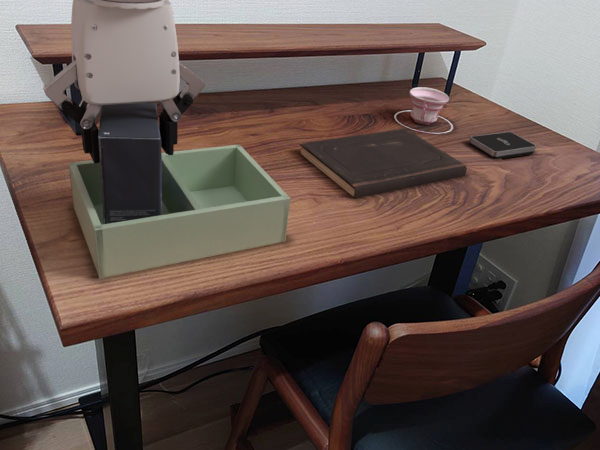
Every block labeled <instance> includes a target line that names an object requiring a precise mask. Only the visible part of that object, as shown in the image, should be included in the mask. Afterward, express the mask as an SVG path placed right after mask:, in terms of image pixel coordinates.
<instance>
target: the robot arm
mask: <svg viewBox="0 0 600 450" xmlns="http://www.w3.org/2000/svg"><path fill="white" fill-rule="evenodd" d="M70 21H71V24H70V25H71V27H70V34H71V35H70V38H71V43H70V44H71V62H70V63H69V64H68V65H66V66H65V68H63V69H62V70H61V71H60V72H58V73H57V74H56V75H54V76H53V77H52V78H51V79H50V80H49V81H47V82H46V83H45V84H44V85H43V87H42V90H43V93H44V94H45V96H46V97H47V98H48V99H49V100H50V101H51V102H52V103H53V104H55V105H56V106H57V108H59V109H60V110H61V111H62V112H63V113H64V114H65V115H66V116H68V117H69V118H71V119H72V120H73V121H74V122H76V123H77V124H78V125H80V132H81V133H80V134H81V142H82V143H81V144H82V149H83V152H84V154H89V155H90V157H91V160H93V162H94V164H95V163H99V162H100V159H99V145H98V134H99V127H98V126H97V124H96V120H97V118H98V116H99V115H100V113H101V108H102V106H103V105H115V104H132V103H159V104H160V106H161V107H162V111H161V112H160V114H159V115H158V122H159V129H160V137H161V150H163V152H165V153H166V154H168V155H173V154H174V151H175V148H174V145H178V122H180V121H181V120H182V118H183V117H182V116H183V115H184V113H185V112H186V111H187V110H188V109H189V108H190V107H191V106H192V105H193V103H194V99H196V98H197V97H198V95H200V93H201V92H202V90H203V89H204V88H205V86H206V85H205V82H204V80H202V79H201V78H200V76H198V75H197V74H195V73H194V72H193V71H192V70H190V69H189V68H188V67H187V66H185V65H184V64H183V63H182V62H180V57H179V55H180V54H179V46H178V45H179V44H178V37H177V31H176V23H175V22H176V21H175V17H174V12H173V7H172V3H171V1H170V0H72V5H71V20H70ZM181 80H182V81H184V82H185V86H184V87H183V90H180V86H181ZM73 84H74V87H75V89H76V90H79V91H80V96H81V101H80V102H79V104H77V103H76V102H75V101H74V100H73V99H71V98H69V97H68V96H67V95H66V94H65V91H66V90H67V89H69V88H70V87H71V86H72V85H73Z"/></svg>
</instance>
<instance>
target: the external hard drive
mask: <svg viewBox="0 0 600 450" xmlns="http://www.w3.org/2000/svg"><path fill="white" fill-rule="evenodd" d="M468 146H470V147H472V148H474V149H475V150H477V151H478V152H479V153H481V154H484V155H485V156H487V157H488V158H490V159H492V160H498V159H499V160H500V159H501V160H503V159H509V158H510V159H511V158H516V157H525V156H530V155H534V153H535V150H536V148H537V145H536V144H535V143H533V142H531V141H529V140H527V139H525V138H524V137H521V136H519V135H518V134H516V133H514V132H512V131H503V132H502V131H501V132H495V133H487V134H479V135H471V136H470V138H469V141H468Z"/></svg>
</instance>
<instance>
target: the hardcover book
mask: <svg viewBox="0 0 600 450" xmlns="http://www.w3.org/2000/svg"><path fill="white" fill-rule="evenodd" d="M299 146H300V147H301V149H300V155H302V156H303V157H304V158H305V159H307V160H308V161H309V162H310V163H311V164H312V165H314V166H315V167H316V168H318V169H319V170H320V171H321V172H322V173H323V174H325V176H327V177H328V178H330V179H331V180H332V181H333V182H334V183H336V184H337V185H338V186H339V187H341V188H342V189H343V190H344V191H346V193H348V194H349V195H350V196H352V197H353V199H354V200H355V199H359V198H364V197H368V196H374V195H378V194H383V193H387V192H388V193H389V192H393V191H398V190H403V189H407V188H412V187H418V186H422V185H428V184H432V183H437V182H441V181H446V180H451V179H456V178H461V177H465V176H466V173H467V169H468V168H467V165H466V164H465V163H463V162H461V161H460V160H458V159H456V158H455V157H454V156H451V155H450V154H448V153H446V152H445V151H443V150H441V149H440V148H438V147H436V146H435V145H433V144H432V143H430V142H429V141H427V140H425V139H423V137H420V136H418V135H417V134H415V133H414V132H412V131H411V130H410V129H409V130H408V129H407V128H401V129H393V130H387V131H380V132H373V133H366V134H365V133H364V134H358V135H357V134H356V135H350V136H343V137H335V138H328V139H322V140H315V141H305V142H299Z"/></svg>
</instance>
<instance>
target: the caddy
mask: <svg viewBox="0 0 600 450" xmlns="http://www.w3.org/2000/svg"><path fill="white" fill-rule="evenodd" d="M161 153H162V203H161V215H160V216H153V217H147V218H141V219H135V220H128V221H122V222H116V223H109V224H103V202H102V182H101V172H100V162H99V163H95V164H94V162H93V160H92V159H90V160H81V161H71V162H68V170H69V178H70V179H69V180H70V186H71V187H70V188H71V197H72V205H73V209H74V212H75V215H76V217H77V220H78V223H79V226H80V228H81V232H82V234H83V237H84V240H85V242H86V246H87V248H88V251H89V253H90V257H91V260H92V262H93V265H94V268H95V270H96V271H95V272H96V274H97V276H98V279H99V280H102V279H105V278H110V277H115V276H121V275H126V274H131V273H135V272H140V271H145V270H151V269H155V268H161V267H165V266H169V265H170V266H171V265H175V264H180V263H181V264H182V263H185V262H191V261H196V260H200V259H204V258H211V257H215V256H221V255H225V254H230V253H234V252H235V253H236V252H239V251H240V252H241V251H244V250H245V251H246V250H250V249H254V248H259V247H265V246H270V245H274V244H280V243H285V242H286V238H287V230H288V223H289V215H290V207H291V206H290V205H291V197H290V196H289V195H288V194H287V193H286V191H284V190H283V188H281V186H280V185H279V184H278V183H276V181H275V180H274V179H273V178H272V177H271V176H270V175H269V173H267V172H266V171H265V170H264V169H263V168H262V167H261V165H260V164H259V163H258V162H257V161H256V160H255V158H253V157H252V156H251V154H249V153H248V152H247V151H246V150H245V148H243V146H241V144H230V145H221V146H212V147H211V146H210V147H201V148H194V149H193V148H192V149H184V150H174V154H173V155H168V154H166V153H165V151H163V152H161Z"/></svg>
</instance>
